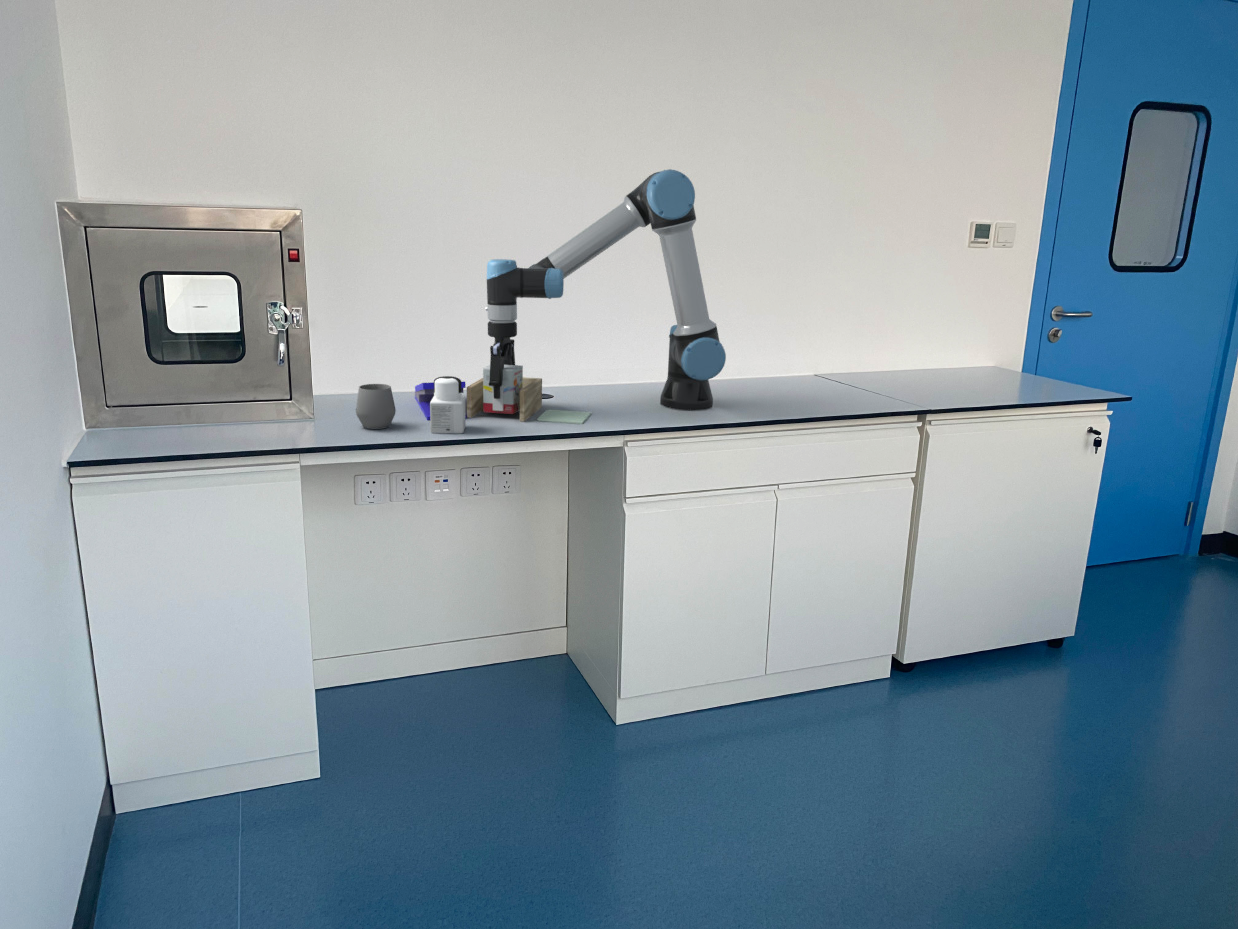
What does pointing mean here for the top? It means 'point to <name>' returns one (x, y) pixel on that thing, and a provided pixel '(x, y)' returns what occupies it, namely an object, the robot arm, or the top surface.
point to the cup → (375, 406)
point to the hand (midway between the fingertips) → (503, 406)
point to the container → (447, 406)
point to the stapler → (427, 396)
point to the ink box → (504, 389)
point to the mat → (564, 416)
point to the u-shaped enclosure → (528, 397)
